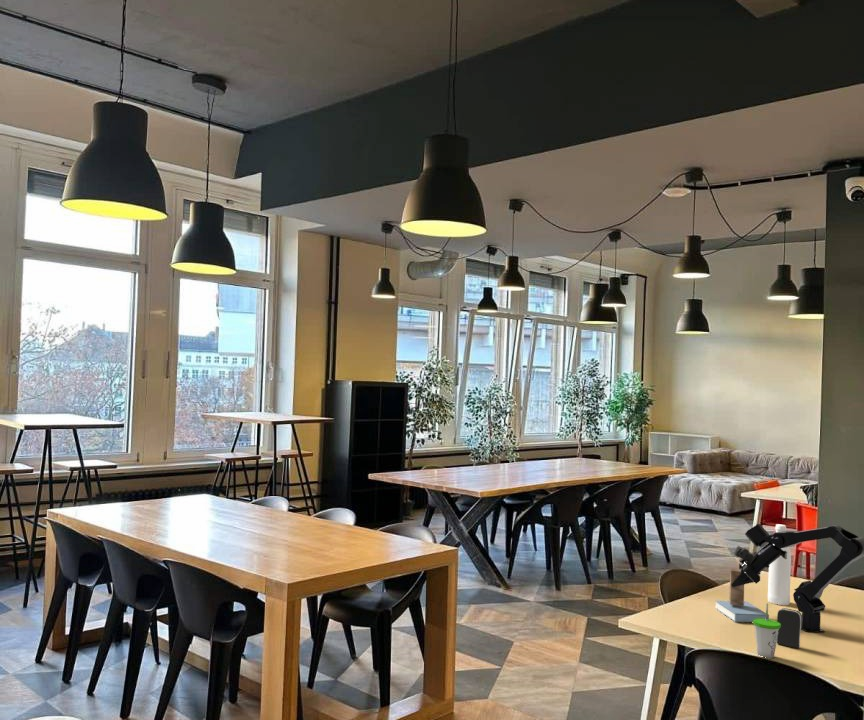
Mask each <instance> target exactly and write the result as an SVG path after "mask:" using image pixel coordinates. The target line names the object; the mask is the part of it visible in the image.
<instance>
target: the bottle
mask: <svg viewBox="0 0 864 720" xmlns="http://www.w3.org/2000/svg"><path fill="white" fill-rule="evenodd" d="M774 529H775V533H776V532H781V531H787V525H785V524H779V523H778V524H777V523H776V524H775V528H774ZM773 545H774V544H773ZM781 549H782V550H783V551H787V559H786V560H785V559H784V558H783V557H782V556H780V557H779V558H777V559H776V560H775V561H774V562H772V563H771V564H770V565H769V566H770V567H769V568H768V581H767V582H768V584H767V588H768V589H767V602H768V603H769V602H770V603H769V604H772V603H773V605H776V604H778V605H777V606H789V605H790V601H791V573H792V572H791V571H792V570H791V568H792V562H791V561H792V551H791V547H786V548H781Z"/></svg>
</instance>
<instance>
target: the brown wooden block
mask: <svg viewBox="0 0 864 720" xmlns="http://www.w3.org/2000/svg"><path fill="white" fill-rule="evenodd" d="M729 569H730V571H729V600H728V601H730V604H733V605H741V606H744V601H745V584H744V585H740V586H736V587H732V585H731V584H732V583H733V582H734V581H735V579H736V578H737V577H738V576H739V575H740V573H741V569H739V568H732V567H730V568H729Z"/></svg>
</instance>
